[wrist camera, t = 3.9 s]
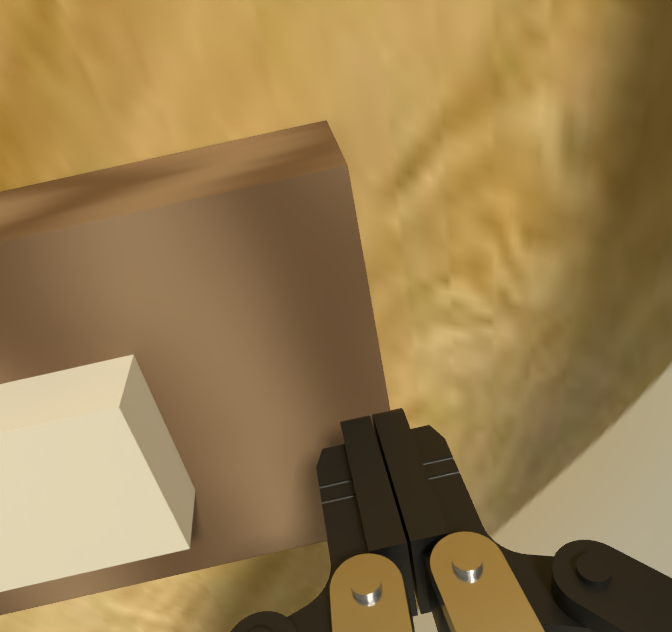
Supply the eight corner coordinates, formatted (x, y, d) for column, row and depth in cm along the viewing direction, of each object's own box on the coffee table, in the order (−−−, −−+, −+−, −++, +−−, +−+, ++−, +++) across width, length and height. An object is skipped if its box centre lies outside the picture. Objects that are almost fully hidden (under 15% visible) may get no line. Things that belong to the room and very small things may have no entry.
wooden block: (326, 120, 16) (347, 165, 13) (385, 436, 23) (409, 521, 19) (-217, 239, 16) (-341, 316, 13) (-3, 524, 22) (-47, 626, 19)
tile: (133, 354, 15) (118, 407, 13) (195, 490, 17) (189, 548, 16) (-147, 416, 15) (-199, 478, 13) (-42, 543, 17) (-73, 608, 16)
